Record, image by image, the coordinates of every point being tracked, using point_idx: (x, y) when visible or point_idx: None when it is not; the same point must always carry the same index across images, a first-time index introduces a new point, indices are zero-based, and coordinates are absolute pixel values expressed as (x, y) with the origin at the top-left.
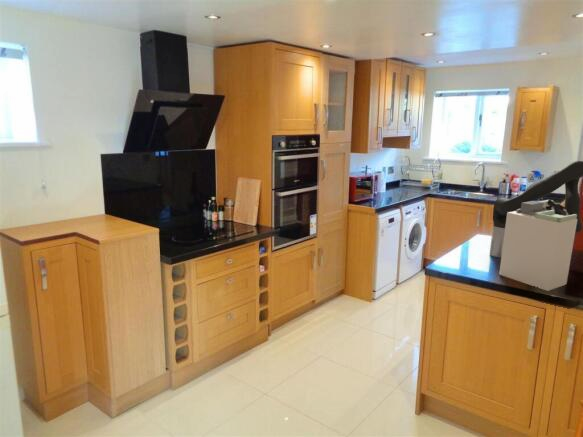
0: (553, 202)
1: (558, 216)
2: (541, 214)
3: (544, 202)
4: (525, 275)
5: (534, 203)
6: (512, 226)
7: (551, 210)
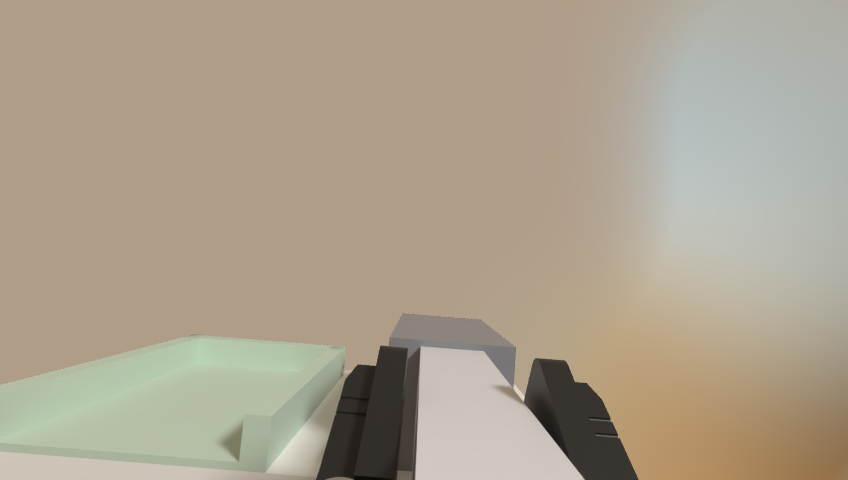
0: (332, 425)
1: (187, 415)
2: (304, 344)
3: (419, 369)
4: None
5: (414, 321)
6: None
7: (275, 401)
